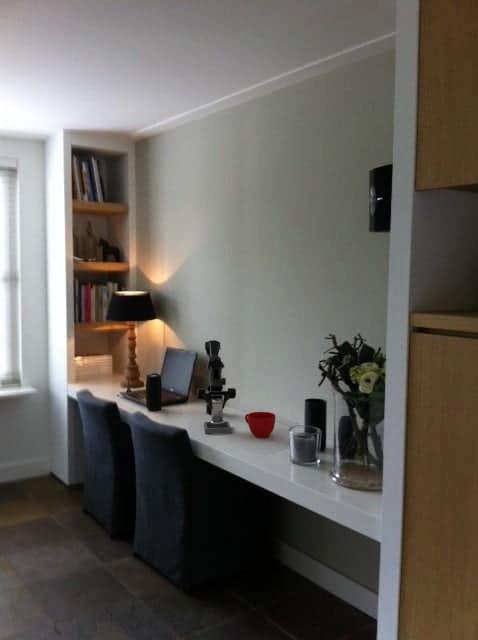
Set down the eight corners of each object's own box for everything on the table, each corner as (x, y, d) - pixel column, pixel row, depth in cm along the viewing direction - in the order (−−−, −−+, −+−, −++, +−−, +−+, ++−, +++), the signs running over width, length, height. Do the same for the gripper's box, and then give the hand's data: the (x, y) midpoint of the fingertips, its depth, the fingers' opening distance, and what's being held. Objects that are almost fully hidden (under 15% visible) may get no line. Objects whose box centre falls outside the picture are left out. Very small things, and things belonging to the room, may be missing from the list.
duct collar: (203, 426, 303) (203, 421, 303) (228, 426, 304) (228, 421, 304) (205, 434, 291) (205, 428, 290) (231, 433, 292) (231, 428, 292)
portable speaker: (144, 411, 334) (143, 375, 332) (148, 407, 343) (148, 372, 341) (159, 411, 333) (159, 376, 331) (163, 407, 342) (163, 373, 340)
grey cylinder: (216, 419, 302) (216, 397, 301) (227, 421, 298) (227, 399, 297) (207, 422, 297) (206, 400, 296) (218, 425, 292) (218, 402, 291)
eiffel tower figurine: (115, 396, 374) (115, 374, 372) (131, 394, 379) (130, 372, 378) (124, 400, 361) (124, 378, 360) (140, 398, 366) (140, 376, 365)
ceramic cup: (255, 429, 300) (255, 408, 299) (281, 436, 288) (281, 415, 287) (236, 434, 291) (236, 413, 290) (262, 441, 279) (262, 420, 278)
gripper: (197, 372, 298) (198, 400, 288) (235, 371, 300) (238, 399, 290) (196, 385, 306) (197, 412, 297) (234, 384, 308) (236, 411, 299)
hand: (217, 408), depth 295 cm, fingers closed on grey cylinder, 5 cm apart
